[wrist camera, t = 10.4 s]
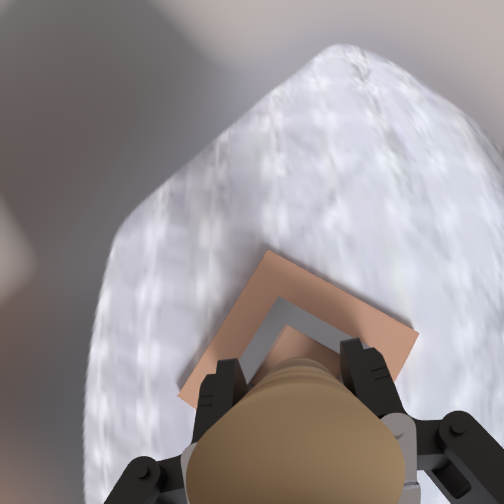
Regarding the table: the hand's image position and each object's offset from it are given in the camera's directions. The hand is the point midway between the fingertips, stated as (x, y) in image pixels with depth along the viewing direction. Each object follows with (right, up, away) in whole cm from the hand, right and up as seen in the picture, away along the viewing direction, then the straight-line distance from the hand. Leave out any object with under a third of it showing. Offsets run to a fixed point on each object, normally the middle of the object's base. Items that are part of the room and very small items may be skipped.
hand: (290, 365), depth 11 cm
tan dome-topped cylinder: (+1, -3, +4) cm, 5 cm away
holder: (+3, -6, +14) cm, 16 cm away
